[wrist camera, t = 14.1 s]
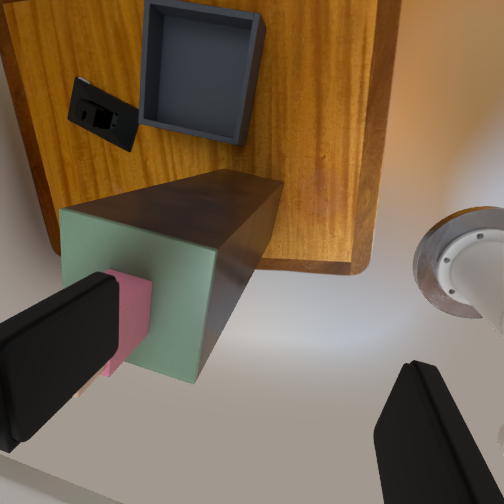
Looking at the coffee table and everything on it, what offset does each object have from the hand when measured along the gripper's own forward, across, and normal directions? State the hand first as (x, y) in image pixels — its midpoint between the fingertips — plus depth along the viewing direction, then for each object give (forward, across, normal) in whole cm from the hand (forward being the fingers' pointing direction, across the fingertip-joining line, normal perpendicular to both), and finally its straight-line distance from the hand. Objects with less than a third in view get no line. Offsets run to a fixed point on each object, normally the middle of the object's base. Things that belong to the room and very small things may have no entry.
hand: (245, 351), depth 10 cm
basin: (+40, +19, -13) cm, 46 cm away
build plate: (+40, +36, -5) cm, 54 cm away
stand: (+41, +9, +5) cm, 42 cm away
